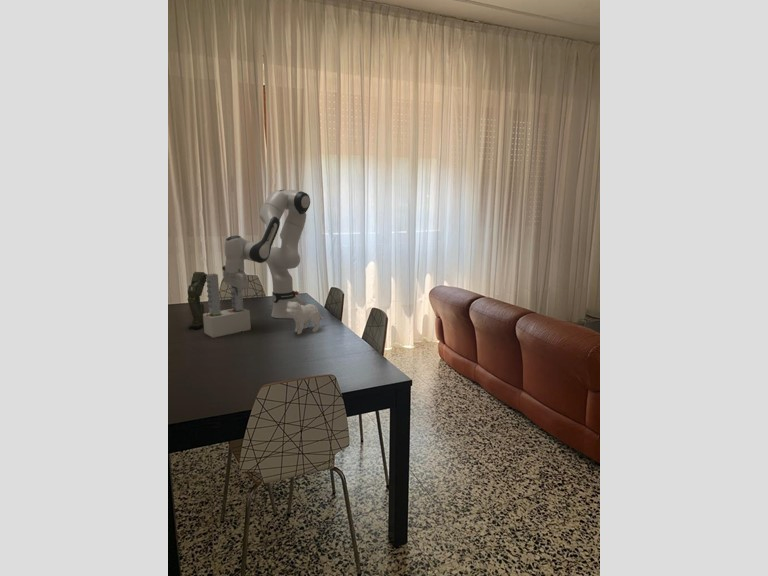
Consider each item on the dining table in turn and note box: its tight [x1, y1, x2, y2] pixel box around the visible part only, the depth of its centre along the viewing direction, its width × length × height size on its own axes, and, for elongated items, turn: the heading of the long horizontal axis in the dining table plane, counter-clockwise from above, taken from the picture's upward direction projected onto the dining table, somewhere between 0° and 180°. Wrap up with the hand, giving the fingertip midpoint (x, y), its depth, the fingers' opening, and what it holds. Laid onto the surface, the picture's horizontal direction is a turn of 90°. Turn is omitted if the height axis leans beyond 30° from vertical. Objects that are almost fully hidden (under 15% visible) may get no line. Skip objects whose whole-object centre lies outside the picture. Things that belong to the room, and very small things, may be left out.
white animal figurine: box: [286, 301, 324, 335], centre depth 226 cm, size 25×10×17 cm, turn 141°
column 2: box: [230, 286, 244, 312], centre depth 227 cm, size 4×4×22 cm
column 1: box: [205, 273, 222, 317], centre depth 217 cm, size 4×4×22 cm
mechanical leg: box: [187, 271, 207, 331], centre depth 231 cm, size 14×7×30 cm, turn 169°
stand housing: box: [203, 307, 252, 338], centre depth 225 cm, size 20×10×11 cm, turn 134°
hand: (236, 295), depth 226 cm, fingers closed on column 2, 4 cm apart
